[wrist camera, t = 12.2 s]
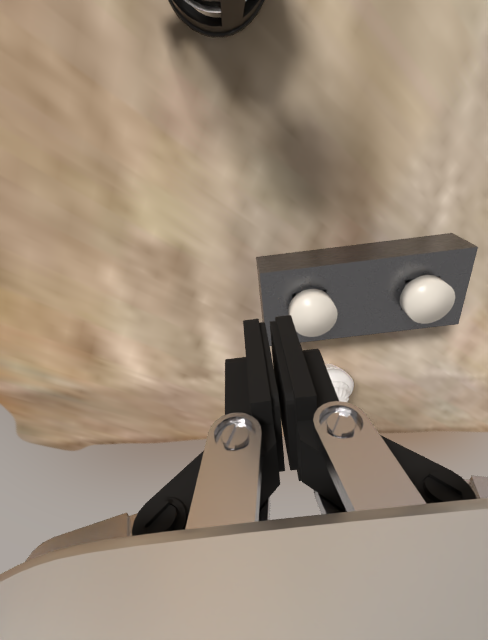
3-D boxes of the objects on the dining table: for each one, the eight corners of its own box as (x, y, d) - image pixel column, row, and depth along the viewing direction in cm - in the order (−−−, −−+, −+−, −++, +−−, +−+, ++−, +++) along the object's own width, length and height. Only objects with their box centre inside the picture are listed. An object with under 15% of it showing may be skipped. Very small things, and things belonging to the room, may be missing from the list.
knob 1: (324, 271, 42) (338, 294, 37) (323, 307, 45) (336, 334, 39) (282, 276, 42) (290, 299, 37) (284, 312, 45) (291, 339, 39)
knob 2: (430, 258, 42) (459, 279, 36) (423, 296, 44) (449, 320, 39) (387, 263, 42) (410, 285, 36) (383, 300, 44) (404, 326, 39)
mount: (451, 233, 42) (477, 246, 37) (437, 304, 47) (458, 323, 42) (256, 257, 42) (259, 273, 38) (262, 325, 47) (266, 346, 43)
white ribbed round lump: (309, 390, 54) (319, 424, 48) (302, 361, 51) (312, 394, 45) (348, 381, 53) (363, 414, 47) (343, 350, 50) (359, 382, 44)
